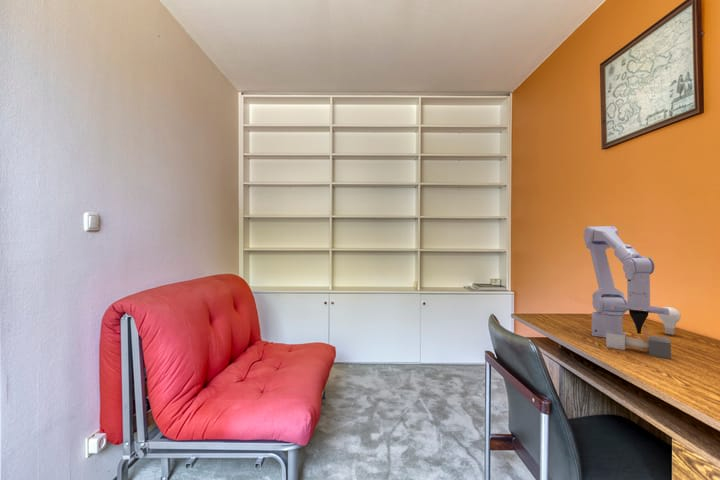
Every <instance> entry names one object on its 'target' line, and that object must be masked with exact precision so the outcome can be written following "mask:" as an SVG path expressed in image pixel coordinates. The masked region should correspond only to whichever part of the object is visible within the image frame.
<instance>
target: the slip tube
mask: <svg viewBox="0 0 720 480" xmlns="http://www.w3.org/2000/svg"><path fill="white" fill-rule="evenodd" d="M642 336H643V339H642V338H636V337H628V336H626V337H625V346H626V347H630V348H638V349H643V350H648V351H649V337H648V326H647V325H643V326H642Z"/></svg>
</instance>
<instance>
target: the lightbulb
mask: <svg viewBox="0 0 720 480" xmlns="http://www.w3.org/2000/svg"><path fill="white" fill-rule="evenodd" d="M662 308H669V315H664V314H657V316H658V318H659V319H660V320H661V322H662V324H663V326H664V333H665V334H667V335H668V336H673V335H675V328H676V325H677V323H679V321H680V320H681V319H682V315H681V313H680V311H679V310H678V309H676V308H675V307H672V306H663V307H662Z"/></svg>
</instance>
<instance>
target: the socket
mask: <svg viewBox="0 0 720 480" xmlns="http://www.w3.org/2000/svg"><path fill="white" fill-rule="evenodd" d="M648 340H649V350H648V351H649V352H648V355H649V356H650V357H656V358H663V359H667V360H672V347H671V346H672V343H671V339H670V337H665V336H664V337H663V336H656V335H650V334H649V335H648Z"/></svg>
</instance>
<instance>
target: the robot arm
mask: <svg viewBox="0 0 720 480" xmlns="http://www.w3.org/2000/svg"><path fill="white" fill-rule="evenodd" d="M583 231H584V232H583V240H584V244H585V247H586V249H589V253H590V256H591V260H592V261H591V262H592V265H593V270H594V273H595V278H596V282H597V286H598V289H597V290H596V291H594V292H593V293H592V295H591V296H592V307H593V309H594V310H595V311H593V312H592V313H591V336H593V337H601V338H605V339H606V332H607V330H612V331H619V332H623V316H625V314H626V313H627V312H629V313H628V314H629V316H630V317H631V319H632V321H633V323H634V325H635V329H636V334H638V335H640V334H642V330H643V326H644V324H645V322H646V319H647V318H648V316H649V314H655V315H656V314H657V315H658V314H664V315H669V308H663V307H659V306H653V305H652V306H651V277H650V276H651V275H652V274H653V273H654V272H655V263H654V261H653V260H652V258H651V257H650V256H649V257H647V256H642V254H641V253H639V251H637V250H636V249H635V248H634V247H633V246H632V245H631V244H626V243H624V241H623V240H622V239H621V238H620V236H619V230H618V228H616V226H614V225H606V226H604V225H602V226H591V225H588V226H587V227H586V228H584V230H583ZM610 248H612V249H613V250H614V251H613V255H614V256H615V257H616V258H617V259H618V260H619V261H620V262H621V263H622V270H623V272H624V278H625V280H626V284H627V287H626V290H627V293H626V295H627V297H625V294H624V292H623V291H621V290H620V289H618V288H616V287H615V283H614V278H613V276H612V275H613V274H612V271H611V267H610V263H609V260H608V255H607V253H606V251H607V249H610ZM626 298H627V299H626Z"/></svg>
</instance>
